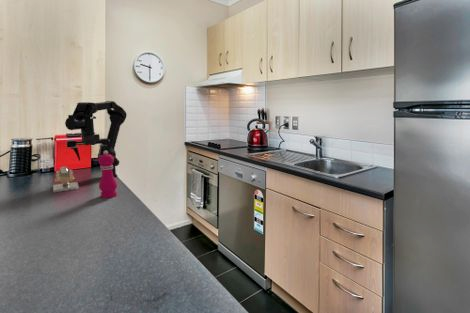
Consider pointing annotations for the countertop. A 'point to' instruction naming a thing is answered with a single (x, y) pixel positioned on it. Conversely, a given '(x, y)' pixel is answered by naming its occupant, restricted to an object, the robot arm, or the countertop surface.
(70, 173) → the collar
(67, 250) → the countertop surface
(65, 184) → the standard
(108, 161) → the pepper mill
